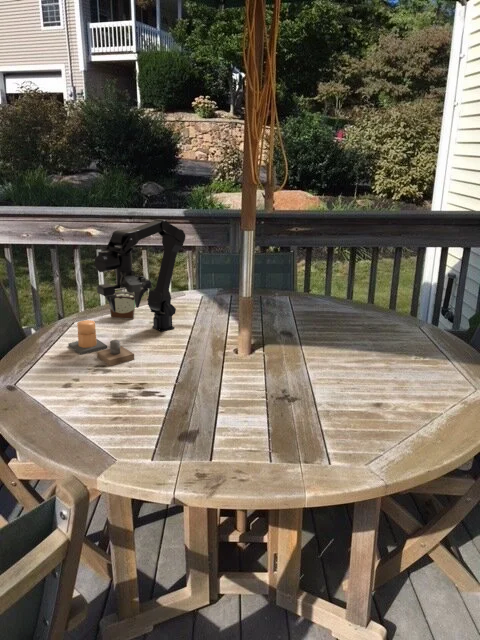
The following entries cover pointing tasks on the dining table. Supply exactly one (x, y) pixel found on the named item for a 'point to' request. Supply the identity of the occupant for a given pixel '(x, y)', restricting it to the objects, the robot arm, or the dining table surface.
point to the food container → (123, 305)
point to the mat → (82, 350)
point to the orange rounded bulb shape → (86, 333)
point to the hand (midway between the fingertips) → (125, 309)
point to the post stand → (115, 354)
